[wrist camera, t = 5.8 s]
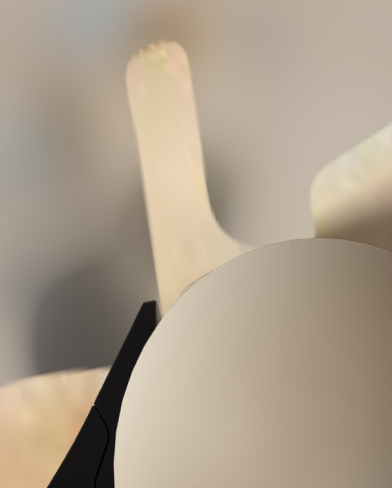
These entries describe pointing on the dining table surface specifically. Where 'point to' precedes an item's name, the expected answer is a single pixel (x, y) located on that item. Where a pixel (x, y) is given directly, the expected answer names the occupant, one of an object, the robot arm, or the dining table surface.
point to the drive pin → (268, 376)
